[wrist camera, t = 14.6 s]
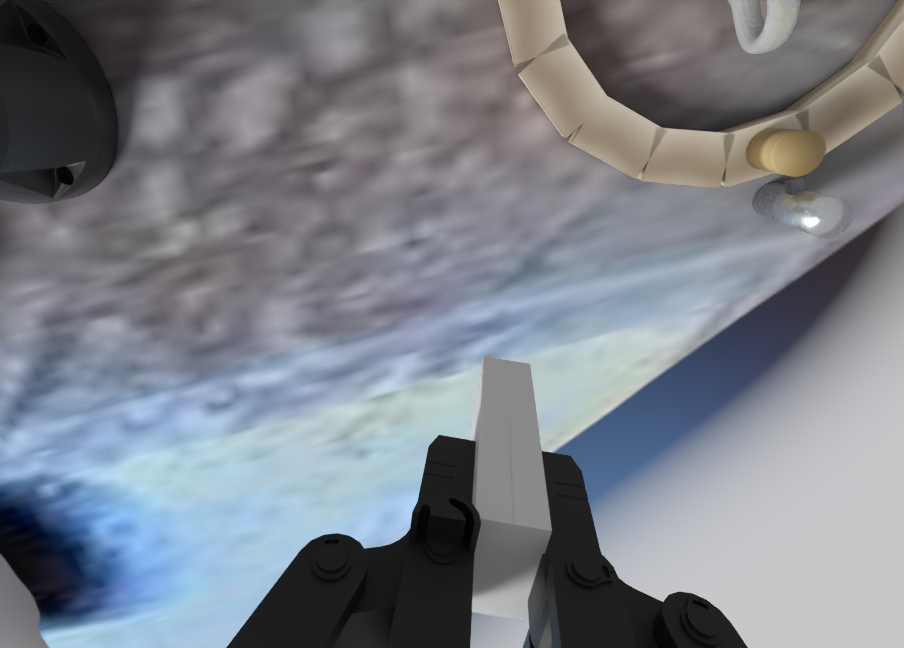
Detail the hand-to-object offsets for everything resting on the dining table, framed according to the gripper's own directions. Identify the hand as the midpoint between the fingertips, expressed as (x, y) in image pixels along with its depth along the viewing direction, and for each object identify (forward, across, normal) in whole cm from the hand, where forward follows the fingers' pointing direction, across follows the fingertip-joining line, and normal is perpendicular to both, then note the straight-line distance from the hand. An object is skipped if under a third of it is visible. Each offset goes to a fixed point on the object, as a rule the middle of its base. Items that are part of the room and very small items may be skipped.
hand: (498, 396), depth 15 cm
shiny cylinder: (+24, -20, -5) cm, 32 cm away
